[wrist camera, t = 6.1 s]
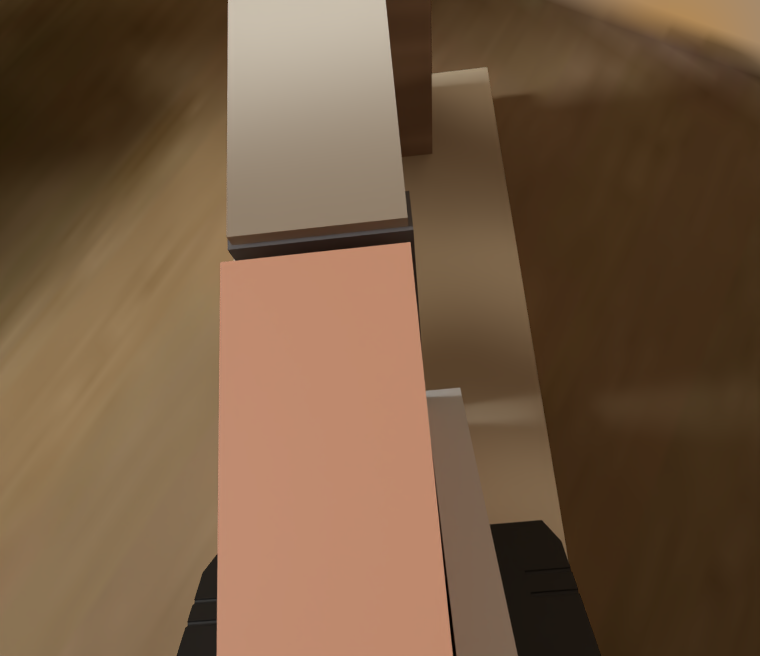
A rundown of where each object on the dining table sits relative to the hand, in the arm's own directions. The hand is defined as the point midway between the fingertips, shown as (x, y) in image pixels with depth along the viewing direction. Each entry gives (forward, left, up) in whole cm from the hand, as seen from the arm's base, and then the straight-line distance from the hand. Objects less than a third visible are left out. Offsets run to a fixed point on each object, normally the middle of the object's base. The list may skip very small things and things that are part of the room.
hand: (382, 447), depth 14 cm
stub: (+3, -1, -2) cm, 3 cm away
